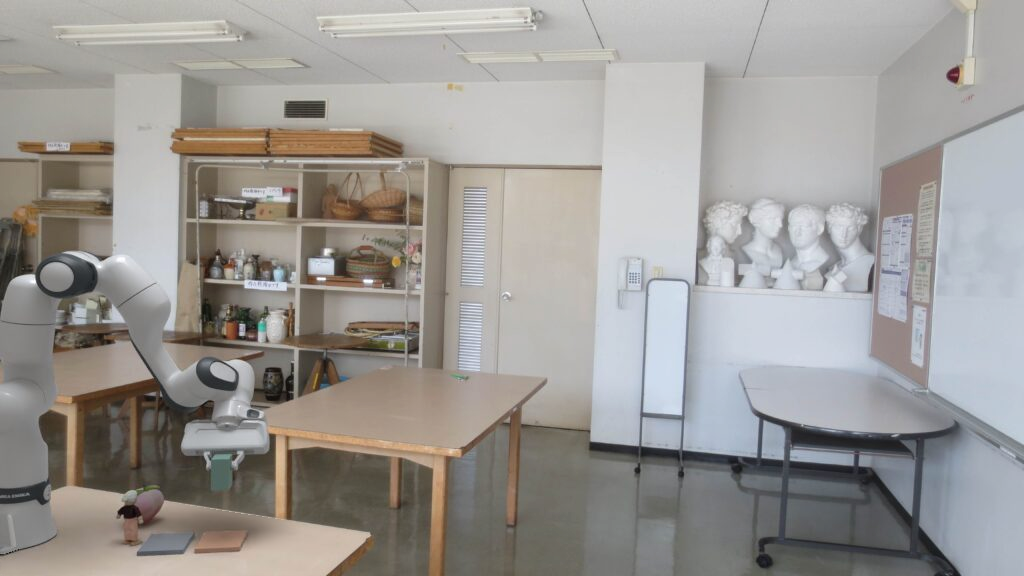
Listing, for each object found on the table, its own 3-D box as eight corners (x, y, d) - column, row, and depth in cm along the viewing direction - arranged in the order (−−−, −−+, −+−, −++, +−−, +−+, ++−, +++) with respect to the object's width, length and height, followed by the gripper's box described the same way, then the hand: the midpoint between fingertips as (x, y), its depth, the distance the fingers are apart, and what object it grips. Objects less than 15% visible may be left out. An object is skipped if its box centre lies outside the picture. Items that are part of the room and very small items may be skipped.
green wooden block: (211, 490, 169) (210, 459, 168) (215, 484, 173) (214, 454, 172) (228, 490, 169) (228, 459, 169) (232, 484, 173) (232, 454, 173)
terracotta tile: (194, 553, 166) (194, 549, 166) (205, 535, 176) (205, 531, 176) (239, 551, 168) (239, 546, 168) (247, 533, 178) (247, 529, 177)
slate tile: (136, 555, 164) (136, 551, 164) (151, 537, 174) (151, 533, 174) (183, 553, 166) (183, 549, 166) (194, 535, 175) (194, 532, 175)
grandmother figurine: (150, 539, 173) (150, 488, 172) (140, 546, 169) (140, 494, 168) (120, 537, 173) (120, 486, 173) (110, 544, 170) (109, 492, 169)
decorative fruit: (143, 514, 188) (143, 477, 188) (169, 517, 186) (169, 480, 186) (115, 527, 179) (115, 488, 179) (142, 531, 177) (142, 492, 176)
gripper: (184, 413, 175) (172, 464, 166) (270, 411, 179) (263, 462, 170) (189, 426, 180) (178, 476, 171) (273, 424, 183) (267, 474, 175)
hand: (221, 469), depth 170 cm, fingers closed on green wooden block, 4 cm apart
